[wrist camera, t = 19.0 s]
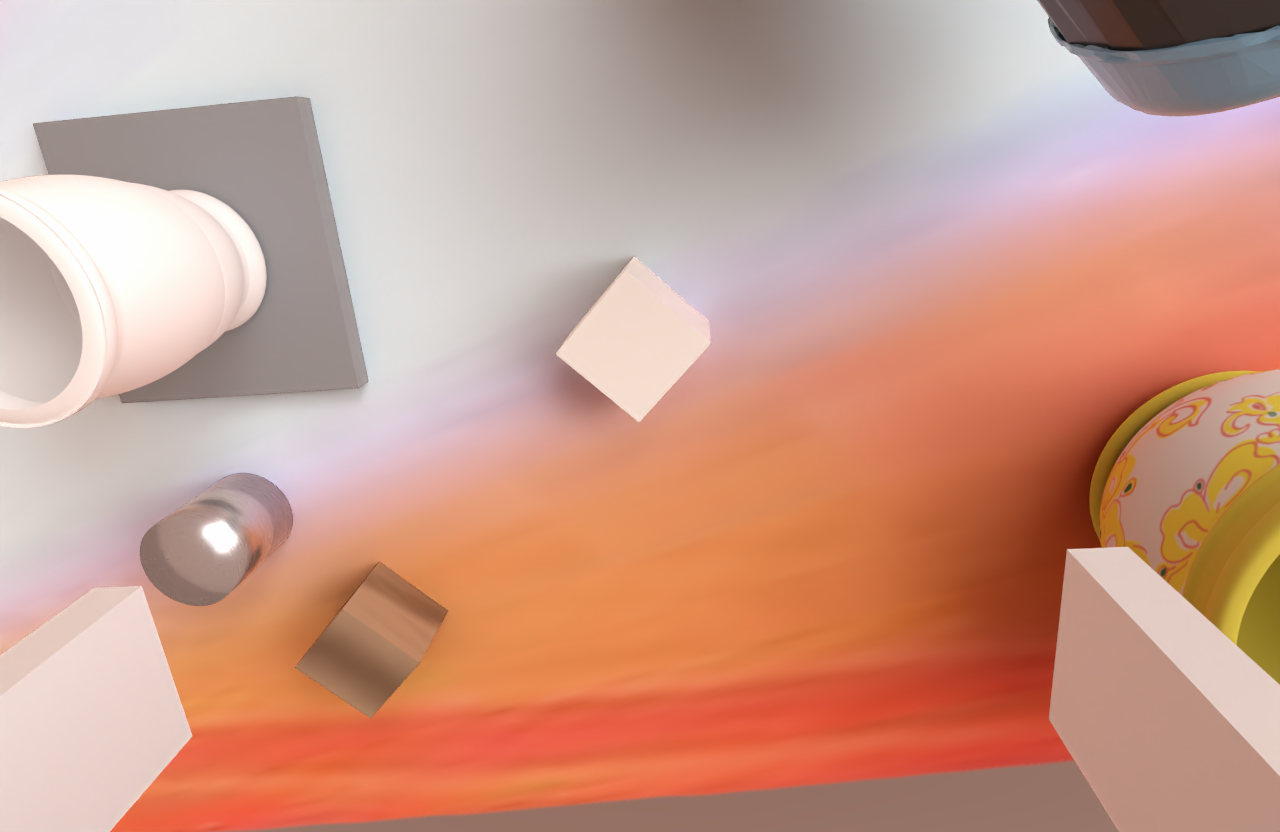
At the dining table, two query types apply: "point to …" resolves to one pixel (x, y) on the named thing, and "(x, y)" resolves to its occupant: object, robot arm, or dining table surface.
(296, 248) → the slate board
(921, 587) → the dining table surface
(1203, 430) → the flowerpot
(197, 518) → the metal tin
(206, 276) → the jar
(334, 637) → the walnut block
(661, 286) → the offwhite block
